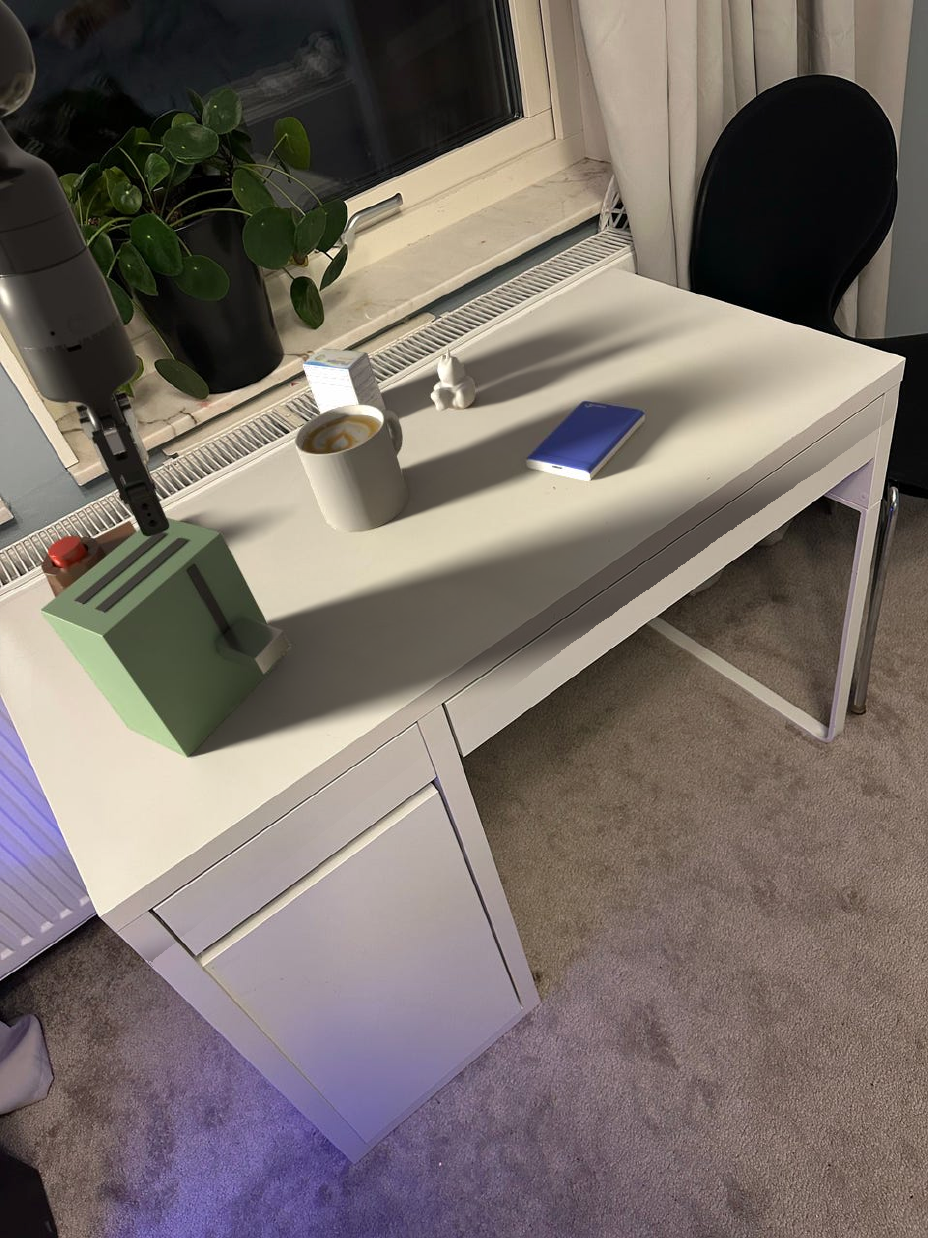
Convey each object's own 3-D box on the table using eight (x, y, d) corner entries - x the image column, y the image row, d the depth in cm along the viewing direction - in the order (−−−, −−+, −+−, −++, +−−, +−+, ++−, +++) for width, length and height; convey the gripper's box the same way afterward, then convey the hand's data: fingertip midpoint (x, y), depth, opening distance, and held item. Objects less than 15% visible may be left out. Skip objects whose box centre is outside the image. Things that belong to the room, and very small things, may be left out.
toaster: (189, 758, 73) (103, 636, 63) (128, 728, 77) (38, 609, 67) (286, 656, 80) (222, 532, 70) (224, 634, 84) (156, 514, 74)
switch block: (67, 616, 92) (47, 589, 90) (51, 579, 99) (32, 552, 96) (159, 567, 96) (143, 540, 93) (138, 534, 102) (122, 508, 99)
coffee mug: (361, 542, 91) (332, 464, 84) (307, 516, 97) (276, 441, 90) (447, 477, 97) (426, 399, 90) (390, 456, 103) (367, 382, 96)
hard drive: (581, 399, 100) (525, 456, 93) (644, 409, 95) (589, 469, 89) (583, 411, 101) (527, 468, 95) (645, 421, 96) (590, 482, 90)
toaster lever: (264, 674, 70) (255, 658, 69) (223, 659, 73) (214, 643, 72) (290, 646, 72) (282, 630, 71) (250, 632, 75) (242, 616, 74)
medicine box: (387, 412, 111) (369, 351, 105) (367, 430, 109) (347, 368, 103) (342, 405, 115) (322, 346, 109) (322, 422, 113) (300, 363, 107)
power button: (59, 572, 92) (51, 560, 91) (53, 558, 95) (44, 546, 94) (90, 557, 93) (82, 544, 92) (83, 543, 96) (75, 531, 95)
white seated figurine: (489, 400, 108) (476, 341, 102) (454, 426, 105) (439, 367, 99) (458, 392, 111) (445, 334, 106) (424, 417, 108) (408, 359, 103)
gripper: (7, 307, 65) (94, 484, 76) (16, 371, 55) (116, 565, 66) (104, 280, 67) (176, 457, 78) (130, 337, 57) (209, 532, 68)
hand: (148, 507), depth 72 cm, fingers open, 8 cm apart
